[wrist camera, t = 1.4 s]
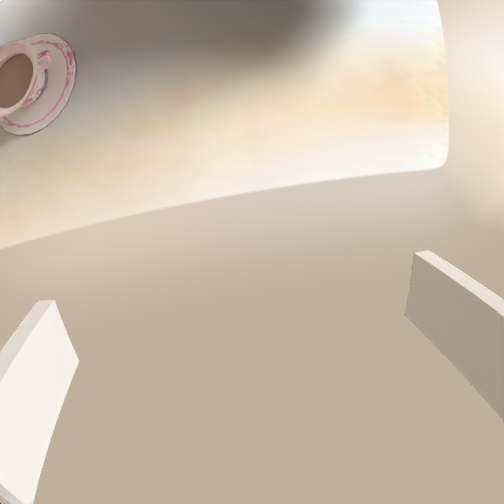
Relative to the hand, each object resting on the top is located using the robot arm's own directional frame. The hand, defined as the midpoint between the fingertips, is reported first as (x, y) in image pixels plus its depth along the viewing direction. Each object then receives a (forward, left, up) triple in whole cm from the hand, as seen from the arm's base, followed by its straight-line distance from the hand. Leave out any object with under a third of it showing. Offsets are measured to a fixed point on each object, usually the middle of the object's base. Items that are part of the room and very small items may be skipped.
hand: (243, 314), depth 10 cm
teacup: (-15, -20, -24) cm, 35 cm away
